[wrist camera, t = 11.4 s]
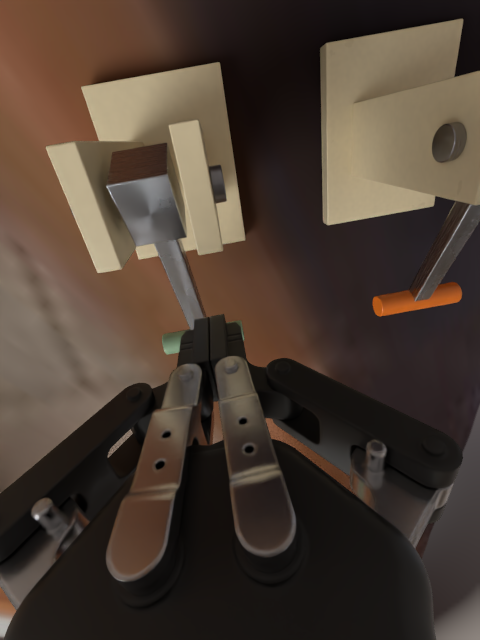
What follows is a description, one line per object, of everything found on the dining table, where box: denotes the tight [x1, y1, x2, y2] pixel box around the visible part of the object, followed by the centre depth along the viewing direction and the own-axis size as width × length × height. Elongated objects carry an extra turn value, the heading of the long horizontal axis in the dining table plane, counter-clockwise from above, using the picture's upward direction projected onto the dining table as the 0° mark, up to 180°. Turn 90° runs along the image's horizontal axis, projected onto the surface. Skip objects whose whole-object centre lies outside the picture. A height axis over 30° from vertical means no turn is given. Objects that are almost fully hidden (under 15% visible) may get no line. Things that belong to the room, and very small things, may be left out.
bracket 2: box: [320, 19, 480, 225], centre depth 17 cm, size 11×8×13 cm
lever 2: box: [373, 201, 480, 316], centre depth 17 cm, size 13×6×2 cm, turn 9°
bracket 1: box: [46, 62, 246, 273], centre depth 17 cm, size 11×8×13 cm
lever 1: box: [106, 143, 244, 354], centre depth 17 cm, size 13×6×2 cm, turn 9°
